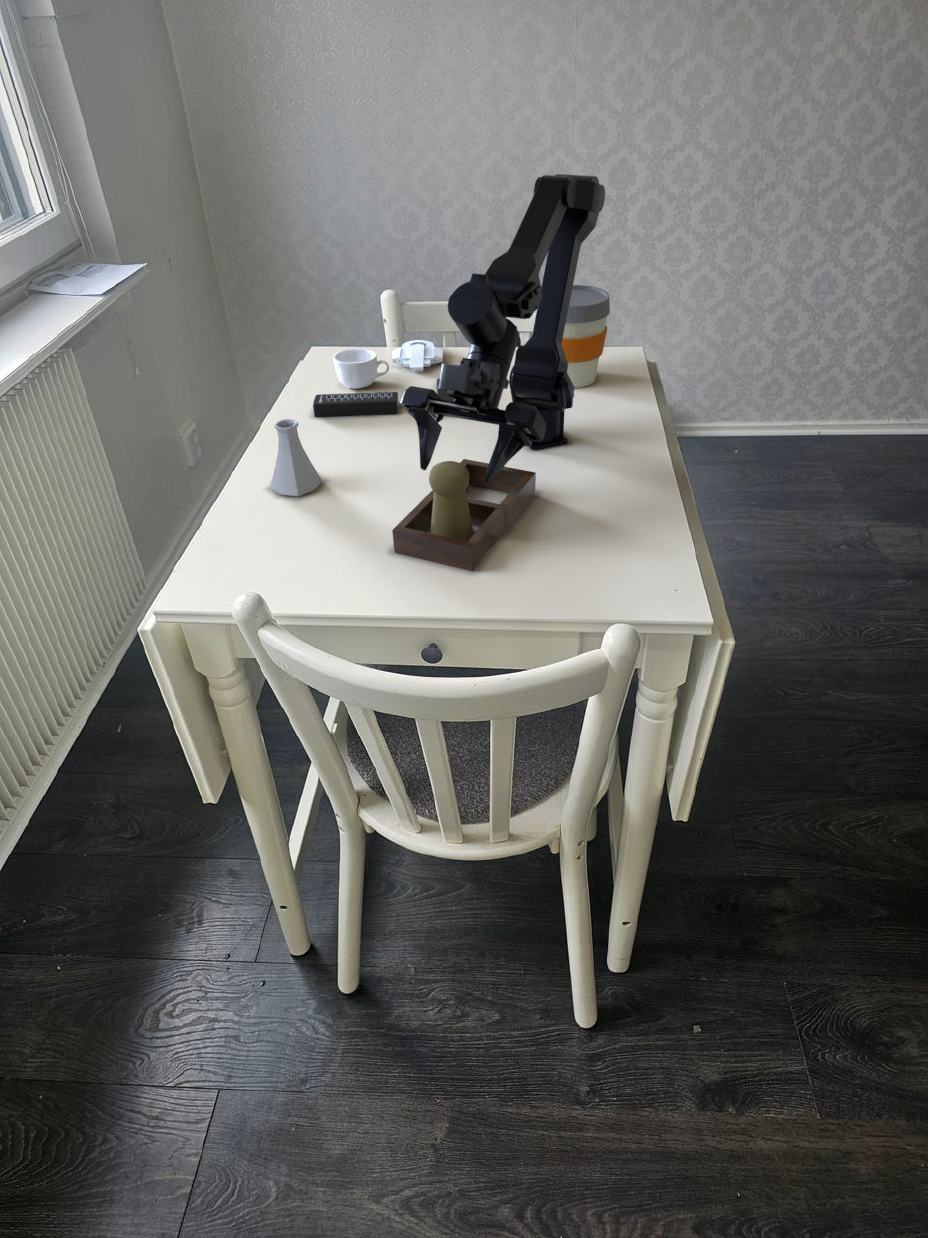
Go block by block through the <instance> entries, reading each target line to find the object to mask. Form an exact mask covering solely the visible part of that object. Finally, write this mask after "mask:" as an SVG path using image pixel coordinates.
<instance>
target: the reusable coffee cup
mask: <svg viewBox="0 0 928 1238" xmlns="http://www.w3.org/2000/svg"><path fill="white" fill-rule="evenodd" d="M610 304H611V303H610V293H609V291H607V290H605V289H604V288H600V287H597V286H594V285H593V286H592V285H585V284H573V288H572V293H571V298H570V303H569V308H568V313H567V318H566V323H565V329H564V334H563V339H562V347H563V350H564V353H565V356H566V358H567V361H568V369H567V374H568V375H569V377H570V379H571V381H572V383H573V385H574V388H575V389H579V388H584V387H587V386H590V385H592V384H593V383H595V381H596V377H597V372H598V367H599V361H600V357H601V356H602V355H603V353H604V347H605V343H606V337H607V333H608V332H607V331H608V325H607V319H608V316H609V315H610V314H611V306H610Z"/></svg>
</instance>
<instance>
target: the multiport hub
mask: <svg viewBox="0 0 928 1238" xmlns="http://www.w3.org/2000/svg"><path fill="white" fill-rule="evenodd" d="M399 399H400V398H399V392H398V391H381V392H379V391H378V392H377V391H376V392H351V393H350V392H349V393H324V394H323V393H322V394H321V393H320V394H316V395H314V398H313V402H312V408H313V414H314V415H313V416H314V417H315V418H327V417H328V418H329V417H354V416H384V415H385V416H386V415H387V416H389V415H397V414H399V408H400V400H399Z"/></svg>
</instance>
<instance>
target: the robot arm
mask: <svg viewBox="0 0 928 1238" xmlns="http://www.w3.org/2000/svg"><path fill="white" fill-rule="evenodd" d="M534 182H535V183H534V187H533V195H532V198H531V200H530V202H529V204H528V206H527V208H526V211H525V213H524V215H523V218H522V220H521V221H520V224H519V226H518V229H517V230H516V233H515V235H514V238H513V240H512V241H511V244H510V246H509V248H508V249H507V251H506V252H504V253H502V254H501V255H499V256H498V257H496V258H495V259H494V260H492V262H491V263H490V265H489V266H488V268H487V270H486V272H485V273H484V274H483V273H474V272H473V273H472V274H471V277H470V280H469V281H467V282H465V283H462V284H461V285H459V286H458V287H457V288H456V289H455V290H454V291H453V292H452V294H451V295H450V296H449V298H448V301H447V312H448V315H449V317H450V318H451V320H452V321H453V323H454V324H455V326H456V328H458V330H459V332H460V333H461V334H462V336H463V337H464V339H465V340H466V342H467V343H469V344H470V347H469V351H468V354H467V357H462V358H461V360H460V362H459V363H458V364H459V365H457V364H451V363H443V362H441V369H440V374H439V378H440V381H439V388H438V389H440V390H448V392H447V394H448V395H449V396H450V397H453V398H454V402H452V401H446V400H442V399H441V398H440V397H439V396H438V395H437V391H435V390H434V389H432V388H426V387H421V386H415V385H414V386H413V385H410V386H408V387H407V388H406V389H405V390H403V392H402V395H401V399H400V401H399V405H401V407H403V409H405V410H406V412H407V413H408V415H410V416H411V417H412V419H413V420H414V421H415V422H416V427H417V433H418V445H419V467H420V469H421V470H422V471H427V469H428V467H429V465H430V463H431V462H432V461H431V460H432V457H433V455H434V453H435V449H436V446H437V443H438V441H439V438H440V435H441V432H442V430H443V427H442V426H441V425H440V422H441V421H443V420H444V418H445V417H451V418H458V419H462V420H469V421H473V422H481V423H486V424H491V425H498V431H497V432H498V433H497V440H496V443H495V445H494V447H493V451H492V454H491V457H490V459H489V462H488V463H489V465H488V468H487V471H486V476H485V482H486V483H490V482H491V481H492V480H493V479H494V477H495V476H496V475H497V474H498V473H499V472H500V470H501V469H502V468H503V467H506V465H507V464H508V462H509V461H510V460H511V459H513V458H514V456H515V455H516V454H518V453H519V452H520V451H521V450H522V449H523V448H525V447H528V448H529V449H530V450H537V449H542V448H549V447H553V446H559V445H564V444H567V443H568V442H569V439H568V438H567V436H566V435H564V434H565V412H566V411H565V410H567V409H572V408H573V405H574V398H575V389H576V388H574V385H573V383H572V381H571V379H570V377H569V375H568V374H567V369H568V361H567V358H566V356H565V353H564V350H563V347H562V339H563V334H564V329H565V323H566V318H567V313H568V308H569V303H570V298H571V293H572V288H573V285H574V282H575V277H576V272H577V268H578V263H579V256H580V251H581V247H582V244H583V243H584V242H585V240H586V239H587V238H588V237H589V235H590V234H591V233H592V232H593V231H594V230H595V228H596V226H597V223H598V219H599V215H600V212H602V210H603V208H604V206H605V200H606V189H605V186H604V185H603V184H601V183H600V181H599V178H598V177H597V176H596V175H582V174H581V175H580V174H562V173H557V174H554V175H551V174H544V175H542V176H538V177H536V180H535V181H534ZM543 264H544V267H543ZM542 267H543V274H542V279H541V278H540V272H541V270H542V269H541V268H542ZM540 279H541V280H540ZM534 313H535V315H534ZM533 315H534V320H533V326H532V331H531V336H530V337H529V339H528V340H527V341H526V342H525V344H522V341H521V335H520V332H519V330H518V327H517V325H515V323H514V322H513V321H511V320H510V319H519V320H527V319H531V318H532V316H533ZM509 318H510V319H509ZM516 348H517V349H516ZM514 355H515V358H514ZM513 358H514V362H513ZM512 362H513V366H512ZM511 366H512V368H511ZM510 368H511V370H510ZM509 372H510V373H509ZM508 375H509V378H508ZM508 389H510V396H511V401H509V403H508V404H507V405H506V406H505V409H500V408H499V405H500V402H501V399H502V395H503V392H504V390H508ZM463 411H465V412H463Z"/></svg>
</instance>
